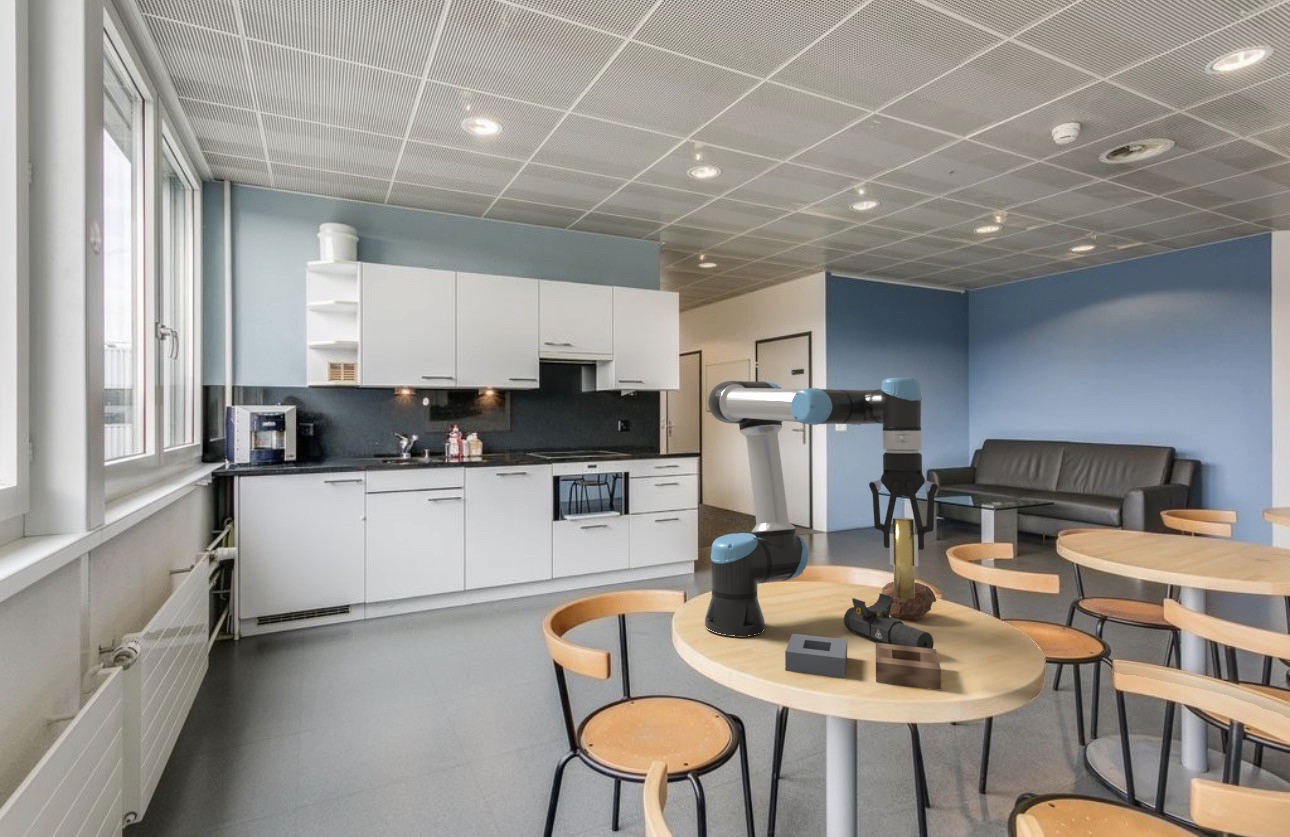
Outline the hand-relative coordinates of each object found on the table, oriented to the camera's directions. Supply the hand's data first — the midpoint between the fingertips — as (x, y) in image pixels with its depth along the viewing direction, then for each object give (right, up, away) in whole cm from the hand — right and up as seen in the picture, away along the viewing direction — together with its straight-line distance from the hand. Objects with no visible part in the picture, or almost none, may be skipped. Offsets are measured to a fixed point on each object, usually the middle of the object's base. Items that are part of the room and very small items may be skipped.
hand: (903, 564), depth 131 cm
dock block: (+1, -23, 0) cm, 23 cm away
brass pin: (0, -7, 0) cm, 7 cm away
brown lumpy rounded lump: (+17, -24, +39) cm, 48 cm away
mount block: (-16, -23, +6) cm, 29 cm away
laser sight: (+3, -24, +19) cm, 31 cm away
